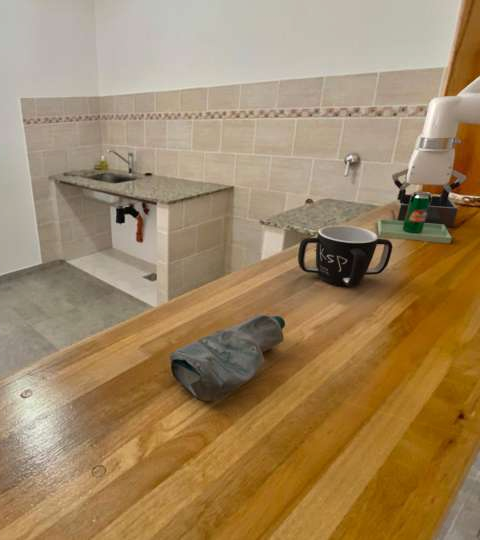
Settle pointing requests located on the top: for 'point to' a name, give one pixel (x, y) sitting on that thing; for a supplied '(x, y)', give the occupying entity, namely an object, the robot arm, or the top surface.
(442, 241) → the tray
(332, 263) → the mug
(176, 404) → the top surface
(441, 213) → the dark grey open box
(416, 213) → the soda can
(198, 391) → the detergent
